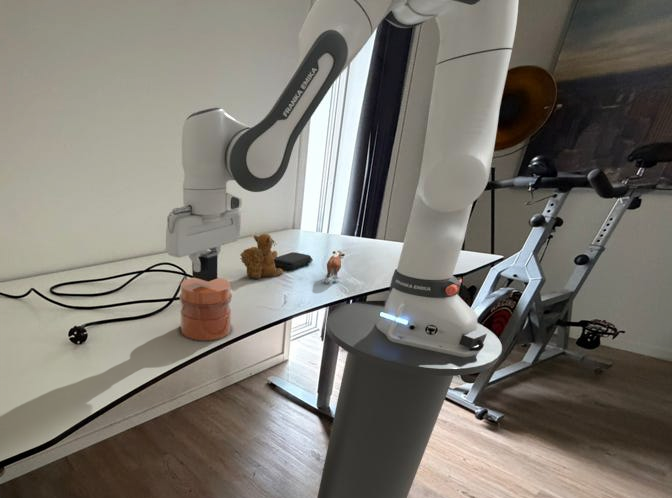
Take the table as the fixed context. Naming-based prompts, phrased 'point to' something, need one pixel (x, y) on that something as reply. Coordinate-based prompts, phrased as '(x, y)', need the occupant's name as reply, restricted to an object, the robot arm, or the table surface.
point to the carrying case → (292, 260)
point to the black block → (207, 266)
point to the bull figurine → (334, 264)
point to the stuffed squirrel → (261, 258)
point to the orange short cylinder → (205, 308)
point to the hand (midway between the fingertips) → (205, 268)
